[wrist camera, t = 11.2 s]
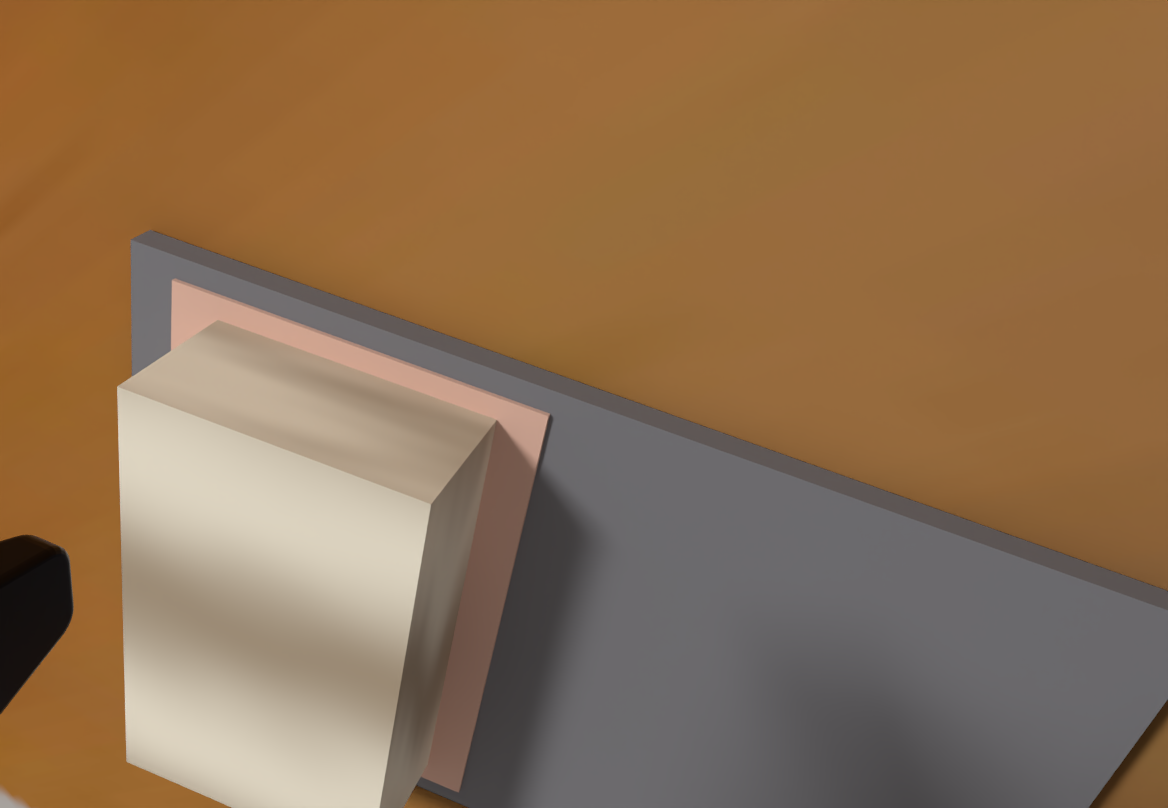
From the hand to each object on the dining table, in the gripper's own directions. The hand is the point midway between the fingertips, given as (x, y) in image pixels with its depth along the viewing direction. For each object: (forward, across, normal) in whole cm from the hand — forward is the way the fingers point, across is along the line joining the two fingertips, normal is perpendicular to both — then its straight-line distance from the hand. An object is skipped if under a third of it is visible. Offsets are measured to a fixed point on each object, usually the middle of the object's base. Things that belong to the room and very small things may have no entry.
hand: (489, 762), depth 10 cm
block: (+10, +7, +8) cm, 14 cm away
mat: (+11, +1, +8) cm, 14 cm away
